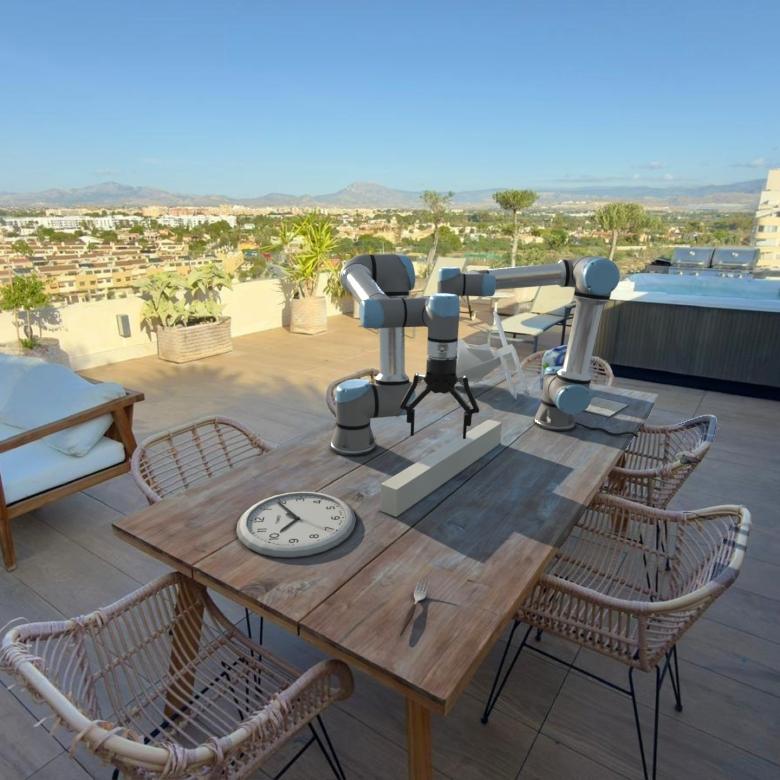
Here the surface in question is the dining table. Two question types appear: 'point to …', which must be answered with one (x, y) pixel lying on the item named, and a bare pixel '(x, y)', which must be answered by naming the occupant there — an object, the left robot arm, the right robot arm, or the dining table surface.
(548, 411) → the right robot arm
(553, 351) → the lunch box
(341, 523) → the wall clock
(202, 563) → the dining table surface
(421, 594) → the fork
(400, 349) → the left robot arm
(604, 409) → the invitation card
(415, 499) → the beam
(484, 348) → the white plastic object
